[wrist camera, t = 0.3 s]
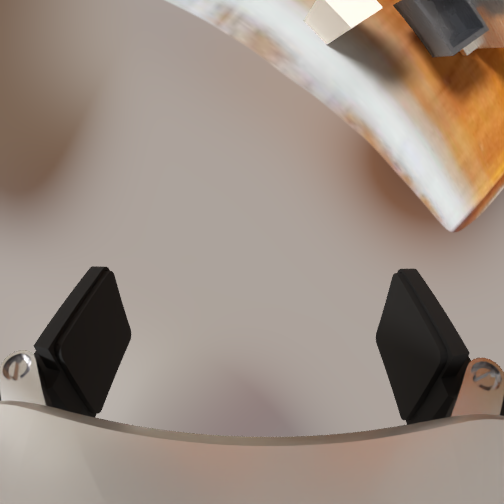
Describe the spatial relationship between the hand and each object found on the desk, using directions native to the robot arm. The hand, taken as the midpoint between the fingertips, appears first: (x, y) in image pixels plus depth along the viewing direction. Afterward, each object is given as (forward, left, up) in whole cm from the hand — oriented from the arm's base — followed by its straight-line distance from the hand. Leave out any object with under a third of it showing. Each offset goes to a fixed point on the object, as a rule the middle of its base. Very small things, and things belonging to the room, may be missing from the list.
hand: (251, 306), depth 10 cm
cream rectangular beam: (-16, -6, -30) cm, 35 cm away
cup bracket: (-30, 0, -30) cm, 42 cm away
